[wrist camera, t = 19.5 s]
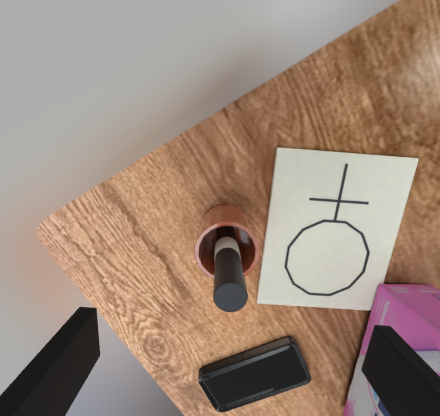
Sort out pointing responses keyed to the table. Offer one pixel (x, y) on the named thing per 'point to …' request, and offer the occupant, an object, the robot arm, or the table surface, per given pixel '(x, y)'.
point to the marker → (228, 272)
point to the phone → (254, 375)
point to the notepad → (331, 227)
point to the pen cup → (243, 232)
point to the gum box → (407, 328)
